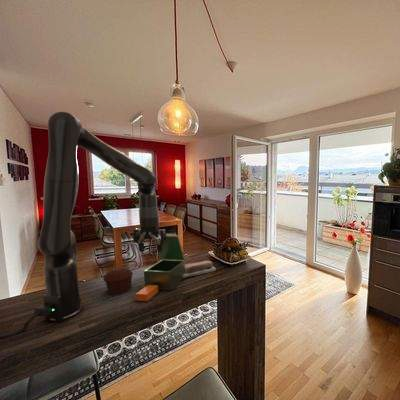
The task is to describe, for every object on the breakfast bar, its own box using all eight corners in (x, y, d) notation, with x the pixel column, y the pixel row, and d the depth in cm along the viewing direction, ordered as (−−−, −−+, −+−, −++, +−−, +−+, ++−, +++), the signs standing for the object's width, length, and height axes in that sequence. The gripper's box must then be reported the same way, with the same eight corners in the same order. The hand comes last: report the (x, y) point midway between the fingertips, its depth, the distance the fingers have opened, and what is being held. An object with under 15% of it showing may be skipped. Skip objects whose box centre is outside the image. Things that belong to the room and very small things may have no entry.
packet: (158, 291, 104) (158, 285, 103) (147, 301, 96) (146, 294, 95) (148, 291, 104) (147, 284, 104) (136, 300, 96) (135, 293, 96)
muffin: (138, 283, 112) (137, 263, 111) (126, 294, 101) (124, 273, 100) (113, 284, 111) (111, 264, 110) (98, 296, 100) (96, 274, 99)
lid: (177, 236, 111) (181, 230, 115) (153, 235, 112) (158, 230, 116) (184, 260, 118) (187, 254, 122) (161, 259, 119) (165, 253, 123)
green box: (170, 290, 105) (169, 272, 104) (145, 288, 106) (143, 270, 105) (185, 276, 119) (184, 260, 118) (162, 275, 121) (162, 259, 120)
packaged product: (182, 269, 116) (177, 263, 124) (182, 278, 116) (178, 272, 124) (216, 262, 126) (209, 257, 134) (216, 271, 126) (209, 265, 135)
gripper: (128, 217, 98) (130, 254, 99) (159, 218, 96) (161, 255, 98) (139, 214, 105) (141, 248, 107) (168, 215, 103) (170, 249, 105)
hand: (150, 251), depth 102 cm, fingers open, 8 cm apart
